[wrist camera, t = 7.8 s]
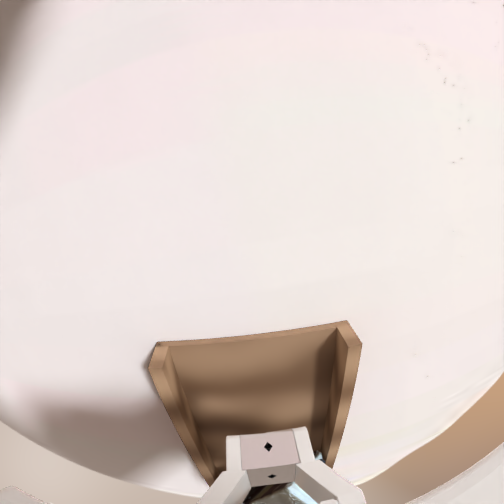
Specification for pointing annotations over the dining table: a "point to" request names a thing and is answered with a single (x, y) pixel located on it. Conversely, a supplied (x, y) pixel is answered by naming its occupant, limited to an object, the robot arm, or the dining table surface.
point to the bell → (280, 492)
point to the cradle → (258, 388)
